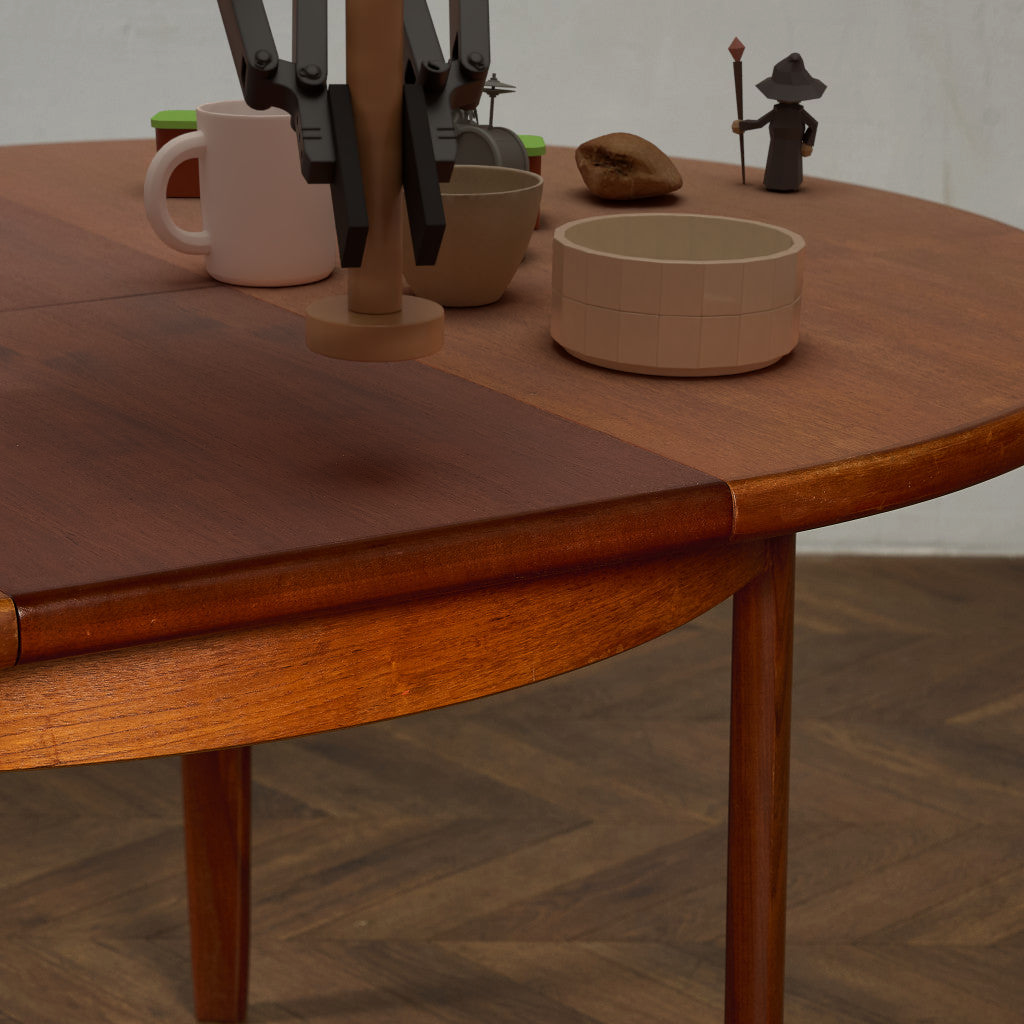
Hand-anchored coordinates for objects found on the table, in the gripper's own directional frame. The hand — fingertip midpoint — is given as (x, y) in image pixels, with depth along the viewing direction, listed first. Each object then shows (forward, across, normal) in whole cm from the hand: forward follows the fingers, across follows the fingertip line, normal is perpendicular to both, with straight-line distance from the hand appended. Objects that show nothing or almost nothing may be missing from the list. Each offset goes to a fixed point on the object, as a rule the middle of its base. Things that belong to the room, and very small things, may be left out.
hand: (393, 246), depth 61 cm
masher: (+1, 0, -6) cm, 6 cm away
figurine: (-25, -12, -40) cm, 49 cm away
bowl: (-8, -19, -22) cm, 30 cm away
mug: (-22, +2, -37) cm, 43 cm away
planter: (-39, -8, -53) cm, 66 cm away
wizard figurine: (-40, -44, -54) cm, 81 cm away
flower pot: (-17, -10, -31) cm, 37 cm away
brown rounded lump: (-39, -31, -53) cm, 73 cm away
